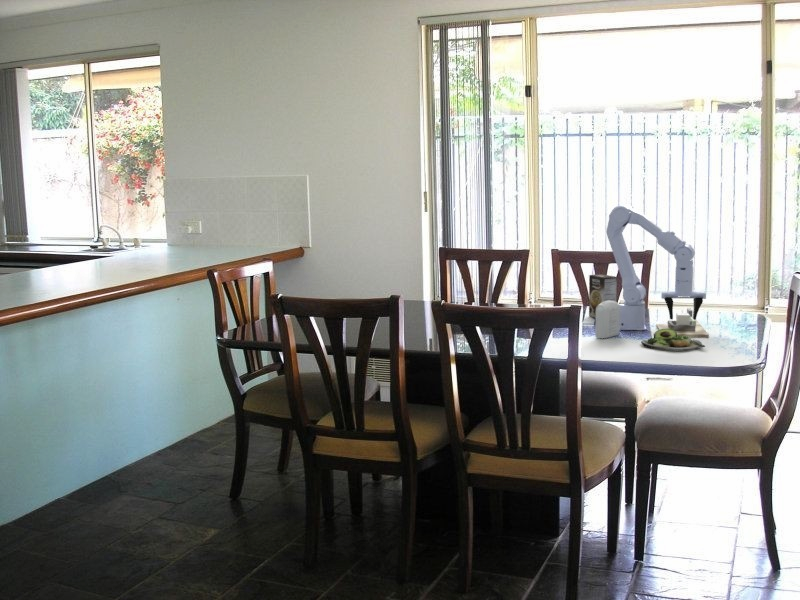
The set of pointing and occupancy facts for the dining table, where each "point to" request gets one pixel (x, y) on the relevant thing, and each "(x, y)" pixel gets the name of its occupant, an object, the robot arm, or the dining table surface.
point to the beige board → (685, 329)
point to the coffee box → (601, 291)
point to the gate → (691, 316)
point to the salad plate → (671, 341)
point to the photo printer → (607, 319)
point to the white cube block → (682, 319)
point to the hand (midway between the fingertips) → (682, 319)
